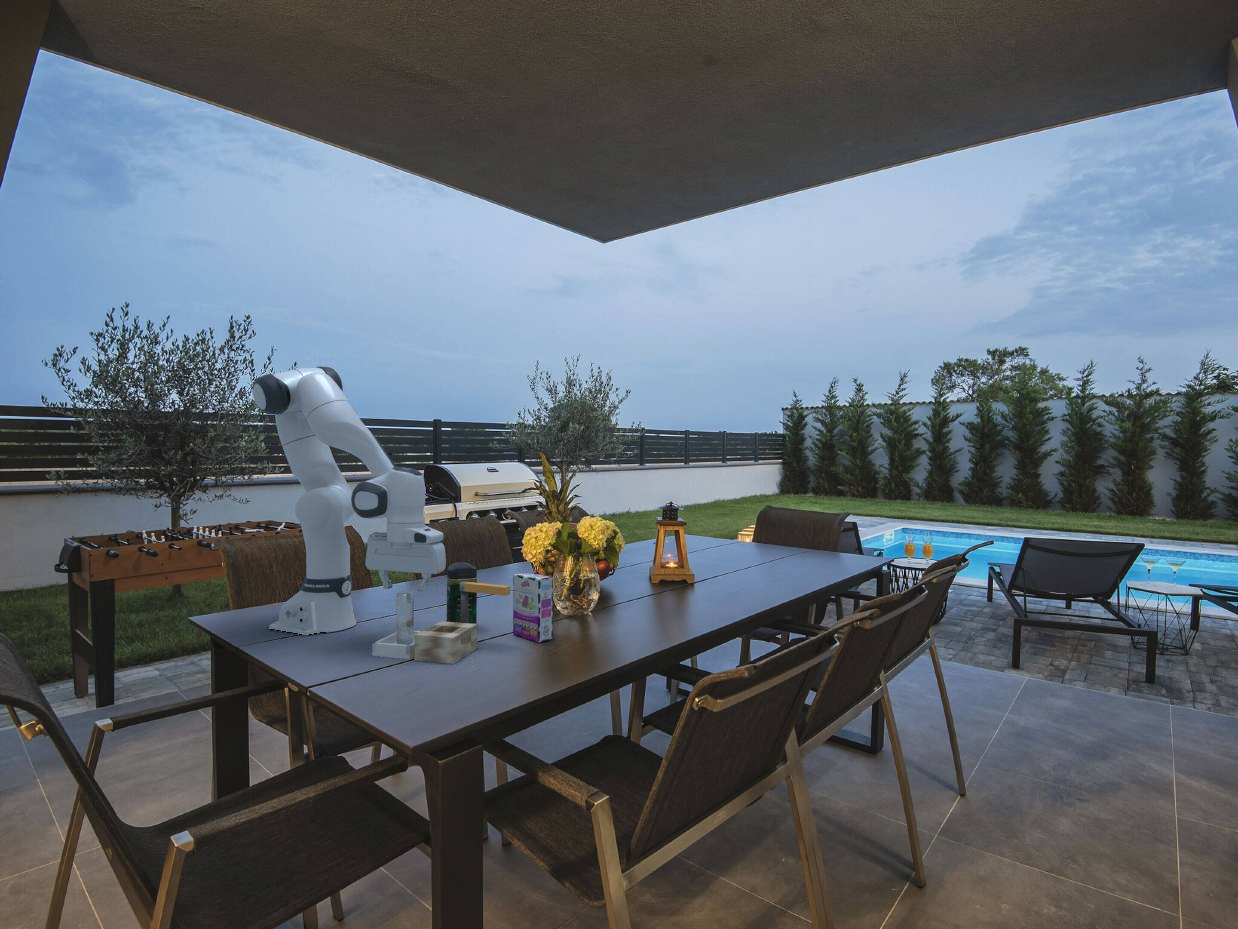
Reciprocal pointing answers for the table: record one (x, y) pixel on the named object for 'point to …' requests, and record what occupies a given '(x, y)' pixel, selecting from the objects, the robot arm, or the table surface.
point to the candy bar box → (533, 606)
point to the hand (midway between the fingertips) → (404, 589)
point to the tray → (393, 648)
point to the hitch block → (447, 639)
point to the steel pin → (405, 617)
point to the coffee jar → (454, 577)
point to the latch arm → (485, 588)
